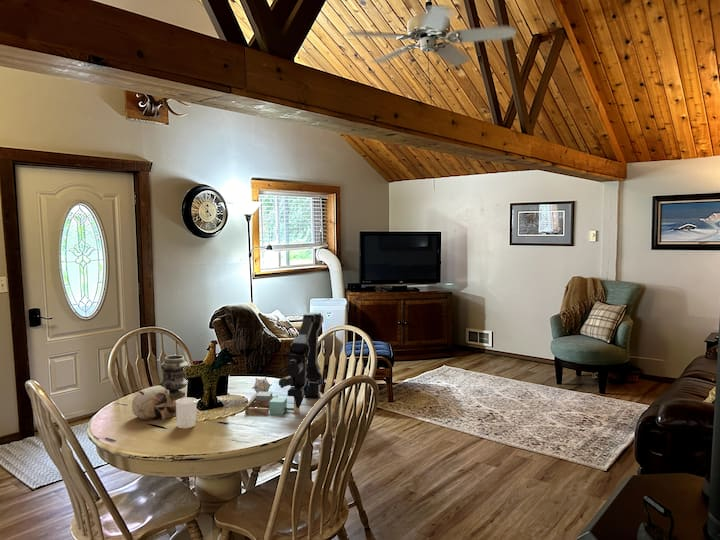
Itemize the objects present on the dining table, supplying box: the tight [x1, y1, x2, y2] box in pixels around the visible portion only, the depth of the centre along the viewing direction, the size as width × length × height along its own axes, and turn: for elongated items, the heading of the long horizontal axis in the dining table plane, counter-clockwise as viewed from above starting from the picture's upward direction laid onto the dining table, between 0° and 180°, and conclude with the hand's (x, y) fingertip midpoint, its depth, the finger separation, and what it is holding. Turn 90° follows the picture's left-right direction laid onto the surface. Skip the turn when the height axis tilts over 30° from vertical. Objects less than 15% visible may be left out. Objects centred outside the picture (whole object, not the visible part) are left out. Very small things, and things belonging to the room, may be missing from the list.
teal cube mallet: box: [269, 396, 301, 415], centre depth 219 cm, size 12×6×8 cm, turn 84°
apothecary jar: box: [159, 354, 189, 399], centre depth 238 cm, size 12×12×18 cm
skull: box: [131, 385, 177, 421], centre depth 210 cm, size 16×17×13 cm
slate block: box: [256, 391, 273, 402], centre depth 228 cm, size 6×6×5 cm
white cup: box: [175, 397, 198, 429], centre depth 201 cm, size 8×8×10 cm
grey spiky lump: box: [251, 376, 273, 393], centre depth 242 cm, size 9×8×10 cm
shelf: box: [244, 392, 279, 416], centre depth 224 cm, size 10×18×4 cm, turn 176°
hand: (298, 406), depth 219 cm, fingers closed on teal cube mallet, 2 cm apart
